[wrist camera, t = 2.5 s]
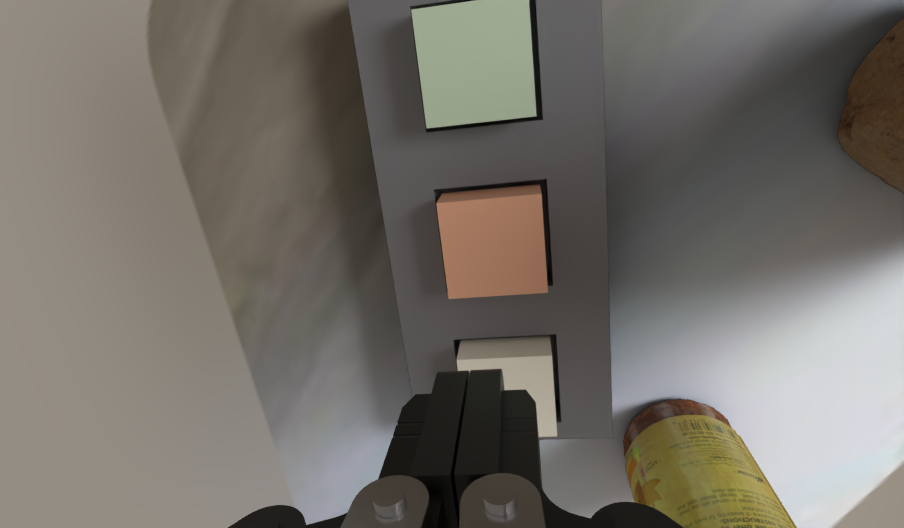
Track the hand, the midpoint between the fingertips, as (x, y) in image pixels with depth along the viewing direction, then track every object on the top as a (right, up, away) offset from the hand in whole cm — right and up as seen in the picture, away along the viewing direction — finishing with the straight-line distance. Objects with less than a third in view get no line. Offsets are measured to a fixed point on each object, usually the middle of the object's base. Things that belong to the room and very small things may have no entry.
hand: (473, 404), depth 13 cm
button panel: (+2, +5, +15) cm, 16 cm away
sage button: (+1, +12, +10) cm, 15 cm away
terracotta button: (+1, +5, +13) cm, 14 cm away
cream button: (+2, -2, +15) cm, 15 cm away
